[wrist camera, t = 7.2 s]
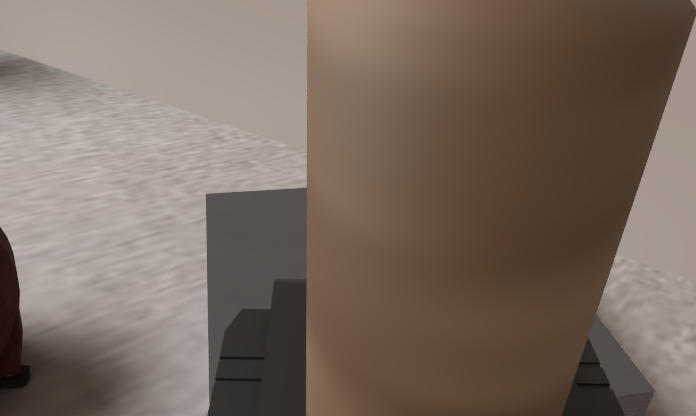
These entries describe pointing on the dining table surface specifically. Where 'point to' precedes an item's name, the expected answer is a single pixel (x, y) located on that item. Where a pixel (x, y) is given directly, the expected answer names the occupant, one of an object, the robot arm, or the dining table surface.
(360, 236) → the pin
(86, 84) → the dining table surface
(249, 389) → the robot arm
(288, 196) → the grey square hole block
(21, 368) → the mate gourd
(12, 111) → the dining table surface
